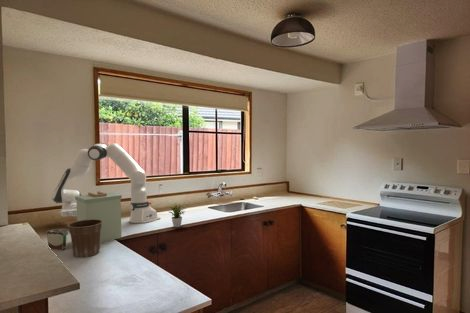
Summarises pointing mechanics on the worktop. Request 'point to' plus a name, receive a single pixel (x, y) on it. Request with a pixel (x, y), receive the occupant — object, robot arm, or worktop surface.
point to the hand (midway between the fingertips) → (80, 213)
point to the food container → (57, 239)
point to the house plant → (177, 215)
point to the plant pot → (85, 237)
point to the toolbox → (102, 212)
